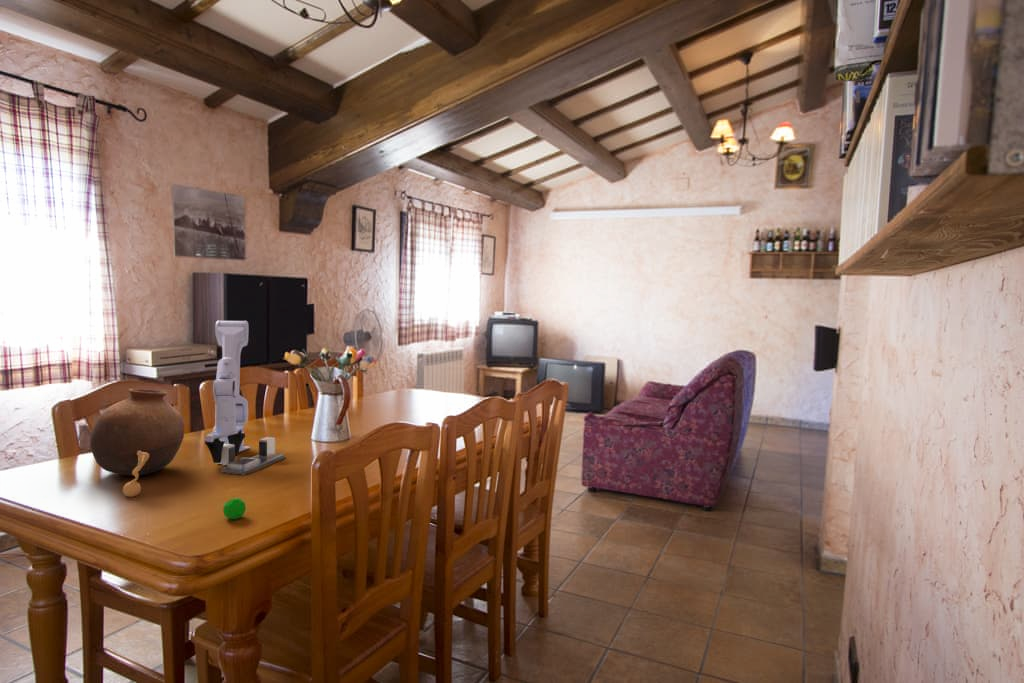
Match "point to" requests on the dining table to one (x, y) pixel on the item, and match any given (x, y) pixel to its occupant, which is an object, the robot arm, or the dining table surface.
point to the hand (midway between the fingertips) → (225, 459)
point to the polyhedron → (234, 508)
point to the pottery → (137, 433)
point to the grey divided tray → (255, 458)
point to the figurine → (133, 486)
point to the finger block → (227, 454)
